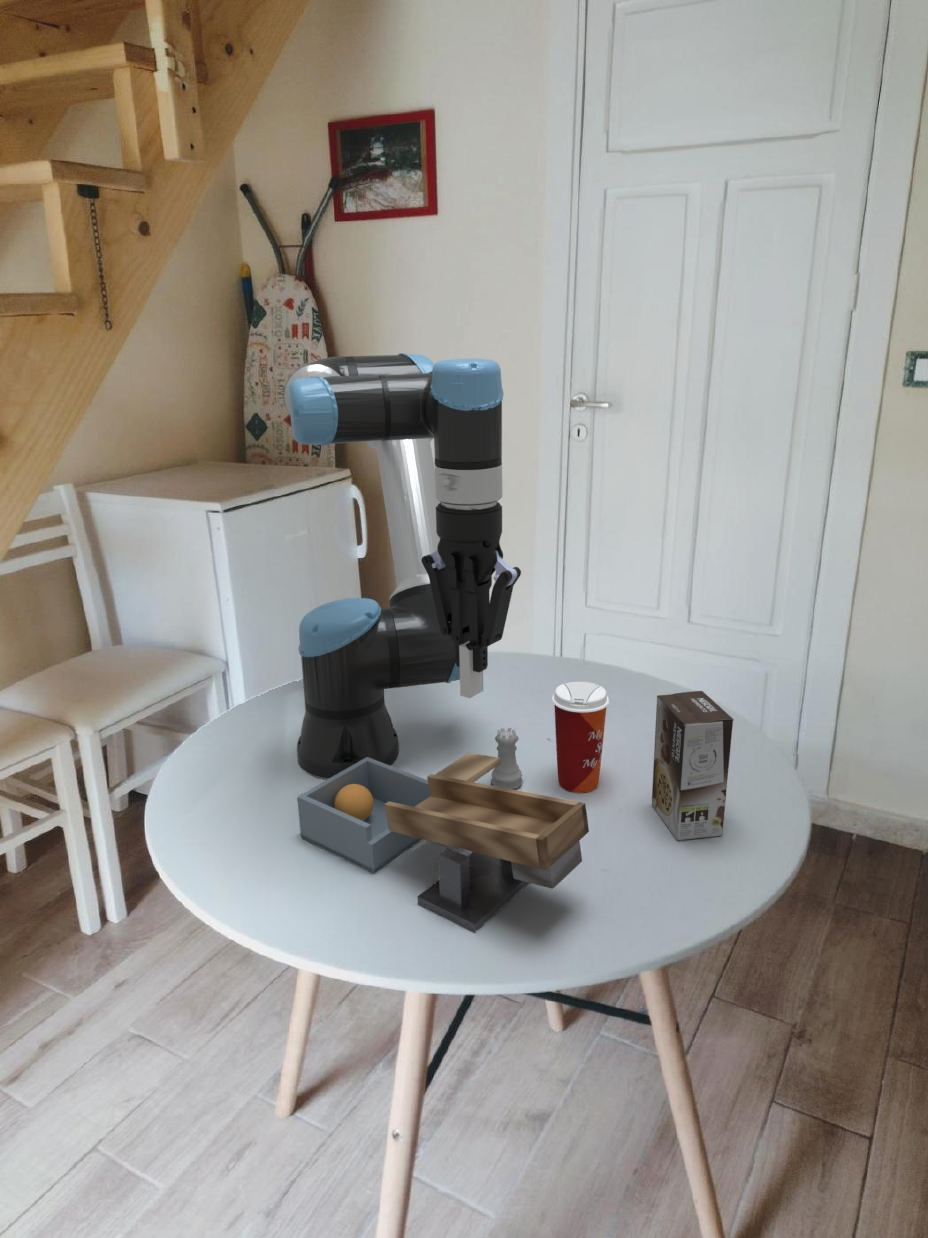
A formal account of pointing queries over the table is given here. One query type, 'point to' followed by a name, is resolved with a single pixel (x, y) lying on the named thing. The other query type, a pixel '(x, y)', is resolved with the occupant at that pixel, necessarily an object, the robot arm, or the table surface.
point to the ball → (354, 801)
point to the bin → (350, 835)
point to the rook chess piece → (507, 761)
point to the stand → (470, 888)
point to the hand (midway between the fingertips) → (471, 692)
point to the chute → (496, 821)
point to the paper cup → (579, 734)
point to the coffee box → (691, 764)
